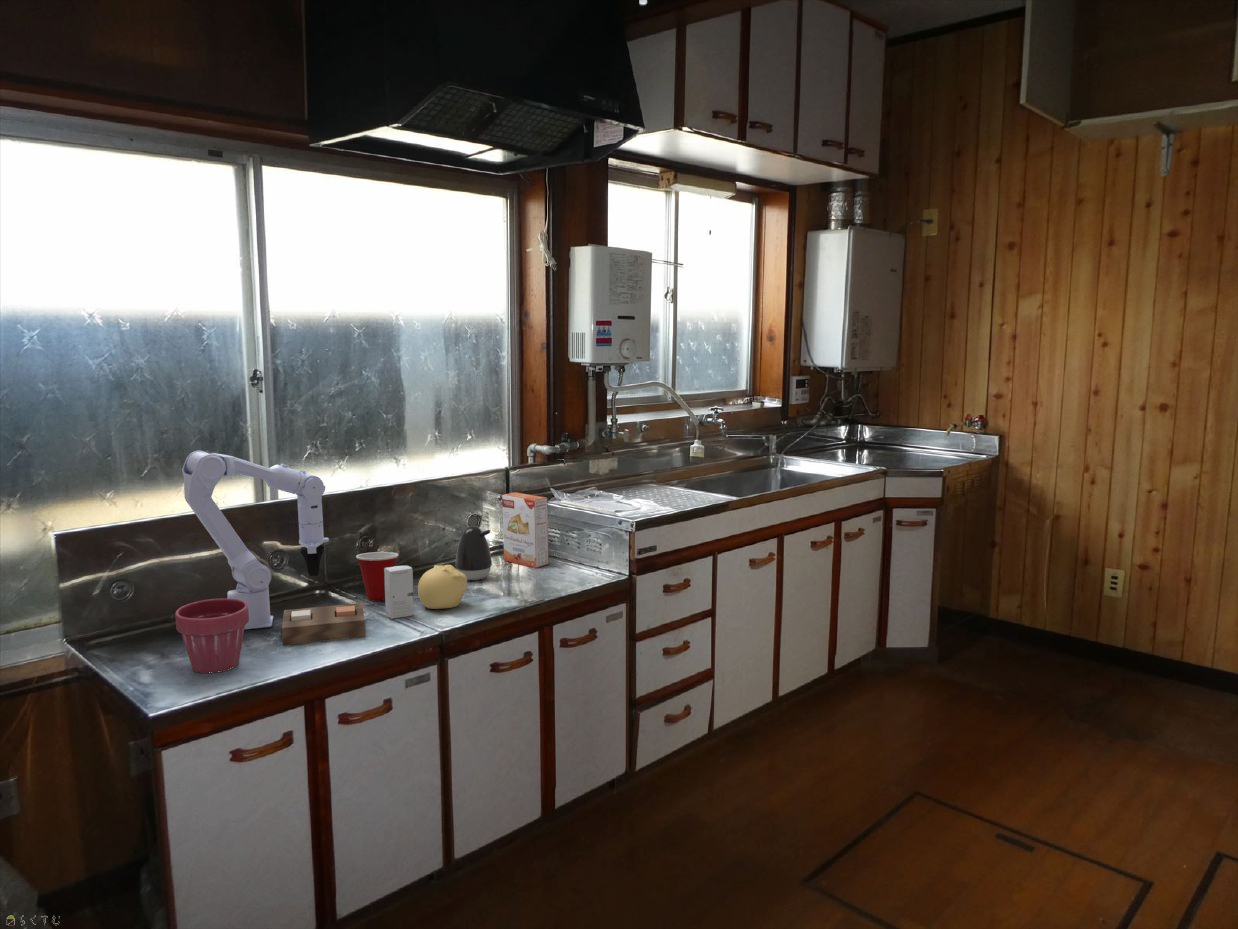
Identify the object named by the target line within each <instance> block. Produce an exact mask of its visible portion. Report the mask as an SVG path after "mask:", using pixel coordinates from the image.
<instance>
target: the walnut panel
mask: <svg viewBox="0 0 1238 929" xmlns="http://www.w3.org/2000/svg"><path fill="white" fill-rule="evenodd" d="M344 606H355V615H351V616H341V617H337V614H336V607H344ZM301 610H311V619H310V620H299V621H291V613H292V611H301ZM281 634H282V635H281V637H282V638H281V639H282V646H287V645H297V644H307V643H308V644H309V643H317V642H318V643H319V642H326V641H335V640H345V639H356V638H363V637H364V638H365V637H366V622H365V615H364V608H363V603H362V602H359V603H347V604H346V603H345V604H337V605H328V606H327V605H325V606H314V607H305V608H303V607H302V608H295V609H284V610H283V616H282V625H281Z"/></svg>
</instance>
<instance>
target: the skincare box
mask: <svg viewBox="0 0 1238 929" xmlns="http://www.w3.org/2000/svg"><path fill="white" fill-rule="evenodd" d="M413 572H414V571H413V567H412V566H409V565H407V564H406V565H395V566H394V567H388V568H384V573H385V600H384V602H385V605H384V606H385V615H386V617H388V618H389V619H390V620H392V619H400V618H405V617H411V616H414V614H415V610H414V608H415V607H414V576H413V574H414V573H413Z"/></svg>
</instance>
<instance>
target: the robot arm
mask: <svg viewBox="0 0 1238 929" xmlns="http://www.w3.org/2000/svg"><path fill="white" fill-rule="evenodd" d="M181 472H182V475H183V489H184V490H183V491H184V492H183V493H184V499H185V501H186V503H187V504H188V506H189V507H190V508H191V510H192V512H193V513H194V515H196V517H197V518H198V520H199V521H200V523H201V524H202V526H203V527H204V529H205V530H206V531H207V533H209V535H210V537H211V538H212V540H214V542H215V543H216V545H217V546H218V548H219V549H220V551H221V552H222V553H223V555H224V557H226V559H227V563H228V565H229V567H230V569H231V575H232V577H233V579H234V580H235V581H236V582H237V584H236V587H235V589H232V590H228V591H227V593H226V594H227V598H226V599H238V600H242V601H245V602H246V603H247V604H248V611H249V621H248V623H247V624H246V625H245V627H244V630H251V629H263V628H271V627H272V626H273V620H274V615H271V605H270V590H269V589H270V588H269V585H270V583H271V580H272V572H271V570H270V568H269V567H268V566H266V565H265V564H262V563H261V562H260V561H259V559H257V558H256V556H255V555H254V554H253V553H252V552H251V551H250V550H249V549H248V548H247V546H246V545H245V543H244V542H243V541H242V539H241V537H240V536H239V535H238V533H237V532H236V531H235V529H234V528H233V526H232V524H231V523H230V522H229V520H228V519H227V518H226V516H225V515H224V513H223V512H222V510H221V509H220V507H219V506H218V504H216V502H215V501H214V499H213V498H212V496H213V493H214V490H215V487H216V486H217V484H218V483H219V482H220V481H221V480H222V478H223V476H226V477H229V476H231V475H233V474H238V475H240V474H241V475H243V476H248V477H252V478H256V479H260V480H262V481H263V480H264V481H265V483H266V485H267V487H269V488H271V489H275V490H278V491H281V492H285V493H288V494H292V495H296V497H297V513H298V514H297V516H298V534H299V540H298V544H299V545H301V547H300V549H299V550H300V554H301V555H302V557H303V559H304V561H305V565H306V569H307V573H308V575H309V577H314V576H316V577H317V576H319V573H320V567H321V566H320V564H321V559H322V556H323V553H324V551H325V545H324V543H328V542H329V541H330V538H329V537H324V517H323V516H324V515H323V503H322V502H323V501H322V496H324V494H325V493H326V492H325V491H326V485H325V484H324V482H323V479H321V478H320V477H318V476H316V475H313V474H310V473H307V472H306V471H305V470H303V469H300V470H296V469H292V468H290V467H289V465H288V464H284V463H280V464H275V465H273V466H270V467H267V466H263V465H261V464H259V463H258V464H257V463H254V462H251V461H248V460H245V459H242V458H239V457H236V456H232V455H228V454H224V453H223V454H222V453H215V452H210V453H208V452H207V451H204V450H195V451H193V452H190V453H189V455H187V457H186V459H185V461H184V463H183V466H182V468H181Z"/></svg>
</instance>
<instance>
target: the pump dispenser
mask: <svg viewBox="0 0 1238 929" xmlns="http://www.w3.org/2000/svg"><path fill="white" fill-rule="evenodd" d="M488 534H491V530H490V529H487V530H482V529H481V528H480V527H479V526H475V525H469V526H467V527H466V528H465V530H463V531H462V534H461V536H460V538H459V542H458V545H457V549H456V555H455V569H457V570H459V571H460V572H461V573H463V574H465V575H466V577H467V581H470V580H475V581H481V580H483V579H485V578H486V577H487V576H488V574H489V573H490V571H491V567H492V565H493V562H492V554H491V550H490V546H489V544H488V541H487V538H486V536H487V535H488ZM480 579H481V580H480Z"/></svg>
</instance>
